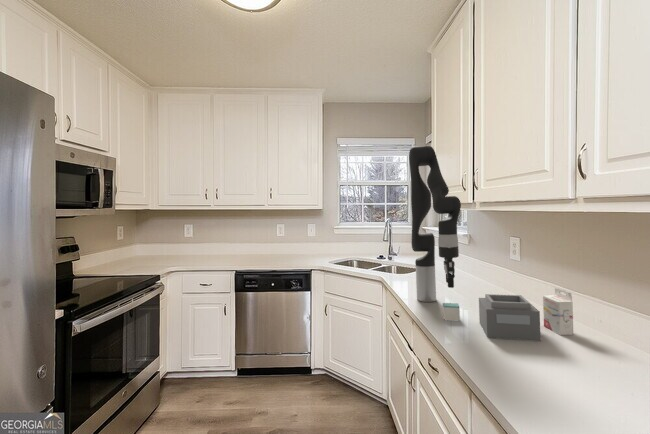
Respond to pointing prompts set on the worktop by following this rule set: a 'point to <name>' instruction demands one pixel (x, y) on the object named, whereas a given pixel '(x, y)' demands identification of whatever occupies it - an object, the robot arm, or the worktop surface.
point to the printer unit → (509, 317)
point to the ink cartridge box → (558, 312)
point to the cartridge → (451, 311)
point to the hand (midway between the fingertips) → (449, 284)
